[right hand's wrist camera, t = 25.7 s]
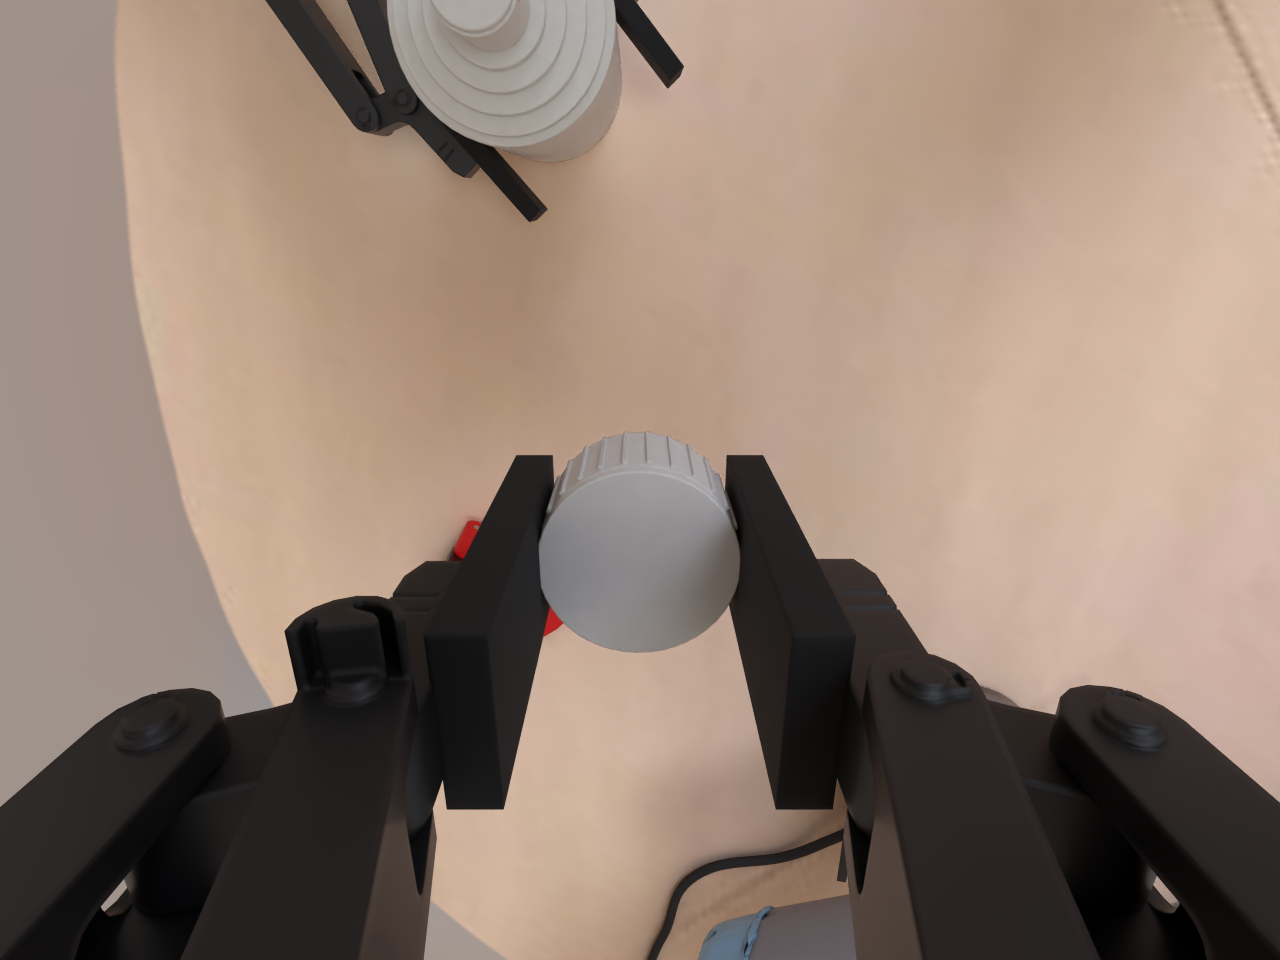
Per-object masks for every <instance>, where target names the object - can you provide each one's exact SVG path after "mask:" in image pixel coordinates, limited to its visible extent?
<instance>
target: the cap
mask: <svg viewBox="0 0 1280 960" xmlns="http://www.w3.org/2000/svg"><path fill="white" fill-rule="evenodd" d="M546 513H547V514H546V517H545V520H544V524H543V527H542V533H541V536H540V540H539V561H540V578H541V589H542V592H543V594H544V596H545V599H546V600H547V602H548V604H549V605H550V607H551V609H552V610H553V611H554V613H555V614H556V615H557V616H558V618H559V619H560V620H561V621H562V622H563V623H564V624H565V625H566V626H567V627H568V628H570V629H571V630H572V631H574V632H575V633H576V634H578V635H579V636H581V637H583V638H584V639H586V640H588V641H590V642H592V643H595V644H597V645H599V646H602V647H606V648H609V649H613V650H618V651H623V652H635V653H639V652H654V651H661V650H665V649H669V648H672V647H675V646H678V645H681V644H683V643H686V642H688V641H689V640H691V639H693V638H695V637H697V636H698V635H700V634H701V633H703V632H704V631H706V630H707V629H708V628H709V627H710V626H711V625H713V624H714V623H715V622H716V621H717V620H718V618H719V617H720V616H721V615H722V614H723V613H724V611H725V610H726V608H727V607H728V605H729V604H730V602H731V600H732V598H733V596H734V594H735V591H736V588H737V585H738V582H739V570H740V545H739V541H738V538H737V534H736V531H735V530H737V529H738V526H737V523H736V519H735V516H734V513H733V510H732V507H731V504H730V500H729V497H728V494H727V491H724V488H723V485H722V482H721V478H720V475H719V474H718V473H716V474H715V472H714V471H713V469H712V468H711V466H710V465H709V463H708V460H707V458H706V457H704V458H702V457H701V456H700V455H699V454H698V453H697V452H696V451H694V450H693V449H692V448H691V446H690V445H689V444H687V445H685V444H683V443H681V442H679V441H677V440H675V439H672V437H671V436H667V437H666V436H662V435H658V434H653V433H650V432H648V431H646V433H628V432H624V434H620V435H615V436H612V437H609V438H607V437H604V438H603V439H602V440H601V441H599V442H597V443H595V444H593V445H591V446H590V447H587V446H586V447H585V448H584V449H583V451H582V452H581V453H580V454H579V455H578V456H576V457H575V458H574V459H573V461H572V460H571V459H570V460H569V461H568V464H567V467H566V469H565V471H564V472H563V473H562V475H561V477H560V476H558V477H557V479H556V482H555V485H554V488H553V491H552V495H551V498H550V501H549V504H548V507H547V510H546Z"/></svg>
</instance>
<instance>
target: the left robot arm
mask: <svg viewBox="0 0 1280 960" xmlns="http://www.w3.org/2000/svg"><path fill="white" fill-rule="evenodd" d="M266 1H267V3H268V4H269V6H270V7H271V8H272V10H273V11H274V13H275V14H276V16H277V17H278V18H279V20H280V21H281V23H282V24H283V26H284V27H285V28H286V30H287V31H288V33H289V34H290V35H291V37H292V38H293V40H294V41H295V43H296V44H297V45H298V47H299V48H300V50H301V51H302V52H303V54H304V55H305V57H306V58H307V60H308V61H309V62H310V64H311V65H312V67H313V68H314V69H315V71H316V72H317V74H318V75H319V77H320V78H321V79H322V81H323V82H324V84H325V85H326V86H327V88H328V89H329V91H330V92H331V94H332V95H333V96H334V98H335V99H336V101H337V102H338V103H339V105H340V106H341V108H342V109H343V111H344V112H345V113H346V115H347V116H348V118H349V119H350V120H351V122H352V123H353V125H354V126H355V127H356V128H357V129H358V130H360V131H363V132H366V133H371V134H375V135H379V136H389V135H391V134H392V133H393V132H394V131H395V130H397V129H399V128H401V127H403V126H406V125H410V126H411V127H413V128H414V129H415V130H416V132H417V133H418V134H419V135H420V136H421V137H422V138H423V139H424V140H425V141H426V143H427V144H428V145H429V146H430V147H431V148H432V149H433V150H434V151H435V152H436V153H437V155H438V156H439V157H440V158H441V159H442V160H443V161H444V162H445V163H446V165H447V166H448V167H449V168H450V169H451V170H452V171H453V172H455V173H457V174H458V175H460V176H462V177H465V178H471V177H472V176H473V175H474V174H475V173H476V172H477V171H478V170H479V169H480V168H482V169H483V171H484V172H485V173H486V174H487V175H488V176H489V177H490V178H491V180H492V181H493V182H494V183H495V184H496V185H497V186H498V187H499V189H500V190H501V191H502V192H503V193H504V194H505V195H506V196H507V198H508V199H509V200H510V201H511V202H512V203H513V204H514V205H515V207H516V208H517V209H518V210H519V211H520V212H521V213H522V214H523V215H524V217H525V218H526V219H527V220H528V221H529V222H531V221H535V220H537V219H538V218H539V217H540V216H541V215H542V214H543V213H544V212H545V211H546V210H547V208H546V207H545V205H544V204H543V203H542V202H541V201H540V200H539V199H538V197H537V196H536V195H535V194H534V193H533V192H532V191H531V189H530V188H529V187H528V186H527V185H526V184H525V183H524V181H523V180H522V179H521V178H520V177H519V176H518V175H517V173H516V172H515V171H514V170H513V169H512V168H511V167H510V165H509V164H508V163H507V162H506V161H505V160H504V159H503V157H502V156H501V155H500V154H499V153H498V152H497V151H496V149H495V148H494V147H492V146H489V145H486V144H483V143H480V142H477V141H475V140H472V139H470V138H467V137H465V136H463V135H461V134H460V133H458V132H456V131H454V130H453V129H451V128H450V127H449V126H447V125H446V124H445V123H443V122H442V121H441V120H439V119H438V118H437V117H436V116H435V115H434V114H433V113H432V112H431V111H430V110H429V109H428V108H427V107H426V106H425V104H424V103H423V102H422V101H421V100H420V98H419V97H418V96H417V94H416V93H415V91H414V90H413V88H412V87H411V85H410V84H409V82H408V80H407V78H406V76H405V74H404V72H403V70H402V68H401V66H400V64H399V61H398V58H397V56H396V53H395V50H394V47H393V43H392V39H391V35H390V29H389V23H388V16H387V0H347V1H348V4H349V6H350V9H351V11H352V13H353V16H354V18H355V20H356V23H357V25H358V28H359V30H360V32H361V35H362V37H363V40H364V42H365V44H366V47H367V49H368V52H369V54H370V56H371V59H372V61H373V63H374V66H375V68H376V71H377V73H378V75H379V78H380V80H381V83H382V85H383V87H384V90H385V93H383V94H381V95H379V94H378V92H377V91H376V89H375V88H374V86H373V85H372V83H371V82H370V80H369V79H368V77H367V76H366V74H365V73H364V72H363V70H362V69H361V67H360V66H359V64H358V63H357V61H356V60H355V58H354V57H353V55H352V54H351V52H350V51H349V50H348V48H347V47H346V45H345V44H344V42H343V41H342V39H341V38H340V36H339V35H338V33H337V32H336V30H335V29H334V28H333V26H332V25H331V23H330V22H329V20H328V19H327V17H326V16H325V14H324V13H323V11H322V10H321V8H320V7H319V6H318V4H317V3H316V1H315V0H266ZM637 1H638V0H614V5H615V13H616V22H617V23H618V24H619V25H620V27H621V28H622V29H623V31H624V32H625V33H626V35H627V36H628V37H629V39H630V40H631V41H632V43H633V44H634V45H635V46H636V48H637V49H638V50H639V52H640V53H641V54H642V56H643V57H644V58H645V60H646V61H647V62H648V64H649V65H650V66H651V68H652V69H653V70H654V71H655V73H656V74H657V75H658V77H659V78H660V79H661V81H662V82H663V83H664V85H665V86H666V87H667V89H668V88H669V87H670V86H671V85H672V84H673V83H674V82H675V81H676V80H677V79H678V78H679V77H680V75H681V73H682V70H683V67H684V66H683V64H682V63H681V62H680V60H679V59H678V58H677V56H676V55H675V54H674V52H673V51H672V50H671V48H670V47H669V46H668V44H667V43H666V42H665V40H664V39H663V38H662V36H661V35H660V34H659V32H658V31H657V29H656V28H655V27H654V25H653V24H652V23H651V21H650V20H649V19H648V17H647V16H646V15H645V13H644V12H643V11H642V9H641V8H640V7H639V5H638V4H637V3H636V2H637Z"/></svg>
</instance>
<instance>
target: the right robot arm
mask: <svg viewBox="0 0 1280 960" xmlns="http://www.w3.org/2000/svg"><path fill="white" fill-rule="evenodd" d="M553 488H554V472H553V455H516V457H515V459H514V461H513V463H512V465H511V467H510V469H509V471H508V473H507V475H506V477H505V479H504V481H503V482H502V484H501V486H500V488H499V490H498V492H497V494H496V496H495V498H494V500H493V502H492V504H491V506H490V508H489V510H488V512H487V514H486V515H485V517H484V519H483V521H482V523H481V525H480V527H479V529H478V531H477V533H476V535H475V537H474V539H473V541H472V543H471V545H470V547H469V548H468V550H467V552H466V554H465V556H464V558H463V560H462V561H426V562H424V563H423V564H421V565H420V566H418V567H417V568H416V569H414V570H413V571H411V572H410V573H408V574H407V575H405V576H404V577H403V579H402V580H401V582H400V584H399V585H398V587H397V588H396V590H395V591H394V593H393V597H390V599H386V598H383V597H379V596H354V597H349V598H343V599H338V600H333V601H331V602H328V603H325V604H322V605H320V606H317V607H314V608H312V609H310V610H309V611H307V612H306V613H304V614H302V615H301V616H299V617H297V618H296V619H295V620H294V621H293V622H292V623H291V624H290V625H289V627H288V628H287V629H286V630H285V636H286V640H287V645H288V649H289V654H290V658H291V663H292V667H293V672H294V676H295V681H296V685H297V690H298V691H297V693H296V695H295V698H294V700H293V702H292V703H288V704H285V705H281V706H278V707H274V708H269V709H265V710H260V711H255V712H250V713H246V714H241V715H236V716H231V717H226V718H225V716H224V713H223V709H222V706H221V702H220V700H219V699H218V698H217V697H216V696H215V695H214V694H212V693H211V692H210V691H204V690H199V689H195V688H187V689H176V690H168V691H163V692H158V693H157V694H151V695H148V696H145V697H142V698H140V699H138V700H136V701H134V702H132V703H130V704H128V705H125V706H123V707H121V708H119V709H117V710H115V711H114V712H113V713H111V714H110V715H108V716H107V717H105V718H104V719H103V720H101V721H100V722H98V723H97V724H95V725H94V726H93V727H92V728H91V729H90V730H88V731H87V732H86V733H85V734H84V735H83V736H82V737H80V738H79V739H78V740H77V741H76V742H75V743H73V744H72V745H71V746H70V747H69V748H68V749H67V750H65V751H64V752H63V753H62V754H61V755H60V756H59V757H57V758H56V759H55V760H54V761H53V762H52V763H50V764H49V765H48V766H47V767H46V768H45V769H44V770H42V771H41V772H40V773H39V774H38V775H37V776H36V777H34V778H33V779H32V780H31V781H30V782H29V783H28V784H26V785H25V786H24V787H23V788H22V789H21V790H19V791H18V792H17V793H16V794H15V795H14V796H12V797H11V798H10V799H9V800H8V801H7V802H6V803H4V804H3V805H2V806H1V807H0V960H424V951H425V942H426V933H427V923H428V914H429V905H430V896H431V887H432V877H433V868H434V859H435V850H436V841H437V836H436V829H435V822H434V815H433V806H434V803H435V800H436V798H437V795H438V792H439V789H440V786H441V783H442V780H443V784H444V792H445V799H446V806H447V809H504V806H505V801H506V797H507V793H508V788H509V784H510V780H511V775H512V771H513V766H514V762H515V758H516V753H517V749H518V745H519V740H520V736H521V731H522V727H523V723H524V718H525V714H526V710H527V705H528V701H529V697H530V692H531V688H532V683H533V679H534V675H535V670H536V666H537V662H538V657H539V653H540V649H541V644H542V640H543V635H544V631H545V627H546V622H547V618H548V614H549V609H550V605H549V604H548V602H547V600H546V599H545V596H544V594H543V592H542V589H541V578H540V561H539V540H540V536H541V533H542V527H543V524H544V520H545V517H546V514H547V513H546V510H547V507H548V504H549V501H550V498H551V495H552V491H553ZM725 491H727V494H728V497H729V500H730V504H731V507H732V510H733V513H734V516H735V519H736V523H737V526H738V529H737V530H735V531H736V534H737V538H738V541H739V545H740V570H739V582H738V585H737V588H736V591H735V594H734V596H733V598H732V600H731V602H730V604H729V607H730V611H731V616H732V620H733V624H734V629H735V633H736V637H737V642H738V646H739V650H740V655H741V659H742V664H743V668H744V672H745V677H746V681H747V685H748V690H749V694H750V699H751V703H752V707H753V712H754V716H755V720H756V725H757V729H758V733H759V738H760V742H761V747H762V751H763V755H764V760H765V764H766V768H767V773H768V777H769V782H770V786H771V790H772V795H773V799H774V803H775V808H776V809H830V810H833V803H834V796H835V788H836V781H837V778H838V781H839V784H840V787H841V790H842V793H843V795H844V798H845V801H846V804H847V807H848V808H847V815H846V822H845V828H844V829H842V830H840V831H837V832H835V833H832V834H830V835H828V836H825V837H823V838H820V839H818V840H816V841H813V842H811V843H809V844H806V845H804V846H801V847H798V848H795V849H792V850H789V851H785V852H781V853H775V854H768V855H759V856H748V857H737V858H729V859H723V860H719V861H715V862H712V863H708V864H706V865H704V866H702V867H700V868H698V869H696V870H694V871H693V872H692V873H690V874H689V875H688V876H686V877H685V878H684V879H683V880H682V881H681V883H680V884H679V885H678V886H677V888H676V890H675V891H674V893H673V896H672V898H671V901H670V904H669V908H668V912H667V916H666V919H665V922H664V925H663V928H662V930H661V932H660V934H659V936H658V938H657V939H656V941H655V943H654V945H653V948H652V950H651V952H650V955H649V957H648V960H657V957H658V955H659V952H660V950H661V948H662V946H663V944H664V942H665V940H666V939H667V937H668V935H669V933H670V931H671V928H672V925H673V922H674V919H675V915H676V911H677V907H678V904H679V901H680V899H681V897H682V895H683V893H684V892H685V891H686V890H687V888H688V887H690V886H691V885H692V884H693V883H694V882H696V881H697V880H699V879H700V878H702V877H704V876H706V875H708V874H710V873H713V872H716V871H720V870H724V869H730V868H738V867H748V866H760V865H770V864H777V863H782V862H787V861H791V860H794V859H798V858H801V857H804V856H806V855H809V854H812V853H814V852H816V851H819V850H821V849H824V848H826V847H828V846H831V845H833V844H836V843H838V842H841V841H843V842H842V849H841V856H840V863H839V870H838V877H837V881H841V882H846V879H847V876H848V885H849V895H844V896H838V897H833V898H827V899H822V900H816V901H811V902H805V903H800V904H794V905H789V906H784V907H778V908H774V907H772V906H767V907H764V908H763V909H761V910H760V911H759V912H758V913H755V914H751V915H747V916H743V917H739V918H735V919H731V920H727V921H724V922H721V923H719V924H718V925H716V926H715V927H714V928H713V929H712V930H711V931H710V932H709V933H708V935H707V937H706V938H705V940H704V942H703V945H702V948H701V951H700V953H699V957H698V960H1280V802H1278V801H1277V800H1276V799H1275V798H1274V797H1273V796H1271V795H1270V794H1269V793H1268V792H1267V791H1266V790H1264V789H1263V788H1262V787H1261V786H1260V785H1259V784H1257V783H1256V782H1255V781H1254V780H1253V779H1252V778H1250V777H1249V776H1248V775H1247V774H1246V773H1245V772H1244V771H1242V770H1241V769H1240V768H1239V767H1238V766H1237V765H1235V764H1234V763H1233V762H1232V761H1231V760H1230V759H1228V758H1227V757H1226V756H1225V755H1224V754H1223V753H1221V752H1220V751H1219V750H1218V749H1217V748H1216V747H1215V746H1213V745H1212V744H1211V743H1210V742H1209V741H1208V740H1206V739H1205V738H1204V737H1203V736H1202V735H1201V734H1199V733H1198V732H1197V731H1196V730H1195V729H1194V728H1192V727H1191V726H1190V725H1189V724H1188V723H1187V722H1186V721H1184V720H1183V719H1181V718H1180V717H1178V716H1177V715H1175V714H1174V713H1173V712H1171V711H1170V710H1168V709H1167V708H1165V707H1164V706H1162V705H1160V704H1158V703H1155V702H1153V701H1151V700H1149V699H1147V698H1145V697H1143V696H1141V695H1139V694H1136V693H1133V692H1130V691H1127V690H1126V691H1124V690H1123V689H1118V688H1113V687H1106V686H1094V685H1085V686H1080V687H1075V688H1070V689H1069V690H1068V691H1067V692H1065V693H1064V694H1063V695H1062V696H1061V697H1060V700H1059V703H1058V707H1057V711H1056V714H1055V715H1054V714H1049V713H1044V712H1039V711H1034V710H1029V709H1024V708H1020V707H1018V706H1017V705H1016V704H1015V703H1014V702H1013V701H1011V700H1010V699H1008V698H1007V697H1005V696H1003V695H1001V694H999V693H997V692H994V691H992V690H989V689H986V688H982V687H980V686H979V684H978V683H977V681H976V680H975V679H974V677H973V676H972V675H970V674H969V673H968V672H966V671H965V670H963V669H962V668H961V667H959V666H958V665H956V664H955V663H952V662H950V661H947V660H945V659H943V658H940V657H938V656H936V655H931V654H928V653H927V651H926V650H925V648H924V647H923V645H922V644H921V642H920V641H919V639H918V638H917V636H916V635H915V633H914V632H913V630H912V629H911V627H910V625H909V624H908V622H907V621H906V619H905V618H904V616H903V615H902V613H901V612H900V610H897V606H896V604H895V603H894V601H893V600H892V598H891V597H890V595H887V591H886V589H885V588H884V586H883V585H882V583H881V581H880V580H879V578H878V577H877V575H876V574H875V573H873V572H872V571H870V570H869V569H868V568H866V567H865V566H863V565H862V564H860V563H859V562H857V561H856V560H854V559H816V557H815V555H814V553H813V551H812V549H811V547H810V546H809V544H808V542H807V540H806V538H805V536H804V534H803V532H802V530H801V528H800V526H799V524H798V522H797V520H796V518H795V516H794V514H793V513H792V511H791V509H790V507H789V505H788V503H787V501H786V499H785V497H784V495H783V493H782V491H781V489H780V487H779V485H778V483H777V481H776V479H775V478H774V476H773V474H772V472H771V470H770V468H769V466H768V464H767V462H766V460H765V458H764V456H763V455H727V462H726V483H725ZM1156 876H1158V877H1159V879H1160V880H1161V881H1162V882H1163V883H1164V885H1165V886H1166V887H1167V888H1168V889H1169V890H1170V892H1171V893H1172V894H1173V895H1174V896H1175V898H1176V899H1177V900H1178V901H1179V902H1180V905H1179V907H1178V908H1177V909H1176V908H1174V907H1173V906H1172V905H1171V904H1170V903H1168V902H1167V901H1166V900H1165V899H1164V898H1163V896H1162V895H1161V894H1160V893H1159V892H1158V890H1157V889H1156V888H1155V887H1154V886H1153V884H1154V881H1155V878H1156ZM123 879H124V880H125V883H126V885H127V889H126V890H125V891H124V893H123V894H122V895H121V896H120V897H119V899H118V900H117V901H116V902H115V903H114V904H113V905H111V906H110V907H109V908H108V909H107V910H106V911H105V912H104V911H103V910H102V909H101V906H102V904H103V903H104V902H105V901H106V900H107V898H108V897H109V896H110V895H111V894H112V893H113V891H114V890H115V889H116V888H117V887H118V885H119V884H120V883H121V882H122V881H123Z"/></svg>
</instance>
